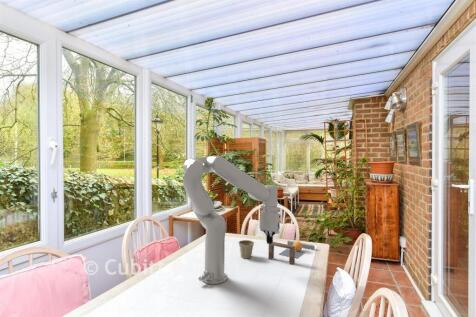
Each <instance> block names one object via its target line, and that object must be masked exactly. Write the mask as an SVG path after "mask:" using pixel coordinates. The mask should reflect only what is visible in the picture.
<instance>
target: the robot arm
mask: <svg viewBox="0 0 476 317" xmlns="http://www.w3.org/2000/svg"><path fill="white" fill-rule="evenodd" d="M182 165H183V166H182V169H183V172H184V174H183V178H182V179H183V180H182V184H183V185H182V186H183V189H184V190H185V191H184V192H186V195H187V196H188V198H189V200H190V202H189V204H190V207H191V209H192V211H193V213H194V214H195V216H196V218H197V219H198V221H199V222H200V224H201V226H202V227H203V228H204V229H205V230H206V231H205V239H204V271H203V274H201V276H199V277H198V280H199V281H200V282H204V283H205V284H208V285H209V284H210V285H219V284H223V283H225V282H226V281H227V280H228V274H227V273H226V272H225V250H226V249H225V248H226V247H225V245H226V244H225V241H226V238H225V237H226V232H227V231H226V230H227V222H226V220H225V218H224V217H223V216H222V215H221V214H220V213H217V212H216V210H215V209H214V208H215V206H214V202H213V200H212V198H211V196H210V195H209V194H208V193H209V192H207V190H206V189H205V186H204V185H203V182H202V178H203V175H204V174H210V173H214V174H216V175H217V176H218V177H220V178H221V179H223V180H224V181H226V182H227V183H229V185H232V186H233V187H236V188H237V189H240V190H242V191H245V192H246V193H247V195H248V197H249V198H250V199H253V200H255V201H258V202H262V205H260V208H261V209H262V210H261V211H260V212H261V213H260V217H259V224H258V225H259V229H260V231H261V232H263V233H264V234H265V237H266V239H265V240H266V244H268V245H269V244H271V243H272V242H274V236H275V235H278V234H280V226H281V223H280V215H279V214H280V213H279V211H278V186H276V185H275V184H265V185H264V184H263V183H262V182H260V181H259V180H257V179H255V178H254V177H252V176H251V175H249V174H247V173H246V172H244V171H243V170H241V169H240V168H238V167H237V166H236V165H234V164H233V163H231V161H229V160H227V158H224V157H223V156H222V155H209V156H208V155H207V156H202V157H196V158H189V159H186V160H185V162H184V163H183V164H182Z"/></svg>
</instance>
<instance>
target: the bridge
mask: <svg viewBox="0 0 476 317" xmlns="http://www.w3.org/2000/svg"><path fill="white" fill-rule="evenodd" d="M275 247H279V248H283V249H289V259H288V260H289V262H288V264H289V265H295V262H296V258H295V246H292V245H287V243H282V242H277V241H273V242H272V243H271V244H268V255H267V256H268V258H267V259H268V260H272V261H273V259H275Z"/></svg>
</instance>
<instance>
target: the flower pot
mask: <svg viewBox="0 0 476 317" xmlns="http://www.w3.org/2000/svg"><path fill="white" fill-rule="evenodd" d="M254 244H255V242H254V241H252V240H249V239H248V240H247V239H242V240H239V241H238V245H239V251H240V258H242V259H245V260H247V259H251V258H252V254H253V249H254V248H253V247H254Z"/></svg>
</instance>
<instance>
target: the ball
mask: <svg viewBox="0 0 476 317" xmlns="http://www.w3.org/2000/svg"><path fill="white" fill-rule="evenodd" d="M293 242H294V244H293V246H295V251H300V252H301V250H303V248H302V247H303V246H302V244H301V243H302V242H301V241H297V240H296V241H293Z"/></svg>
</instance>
